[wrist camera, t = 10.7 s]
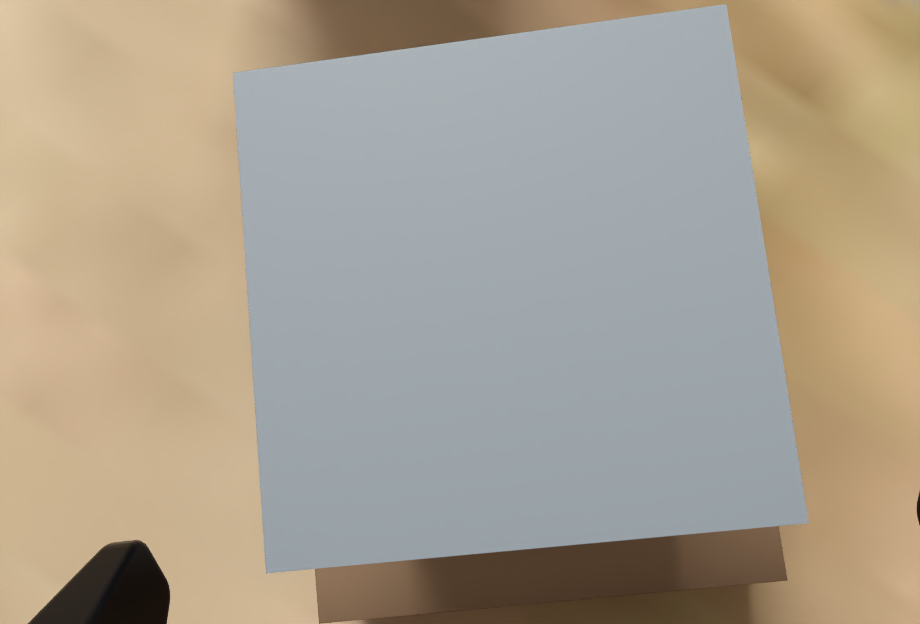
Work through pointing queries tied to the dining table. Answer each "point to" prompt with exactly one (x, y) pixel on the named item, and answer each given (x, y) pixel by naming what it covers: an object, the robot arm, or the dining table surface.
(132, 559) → the robot arm
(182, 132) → the dining table surface
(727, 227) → the slate block
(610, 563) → the walnut block
